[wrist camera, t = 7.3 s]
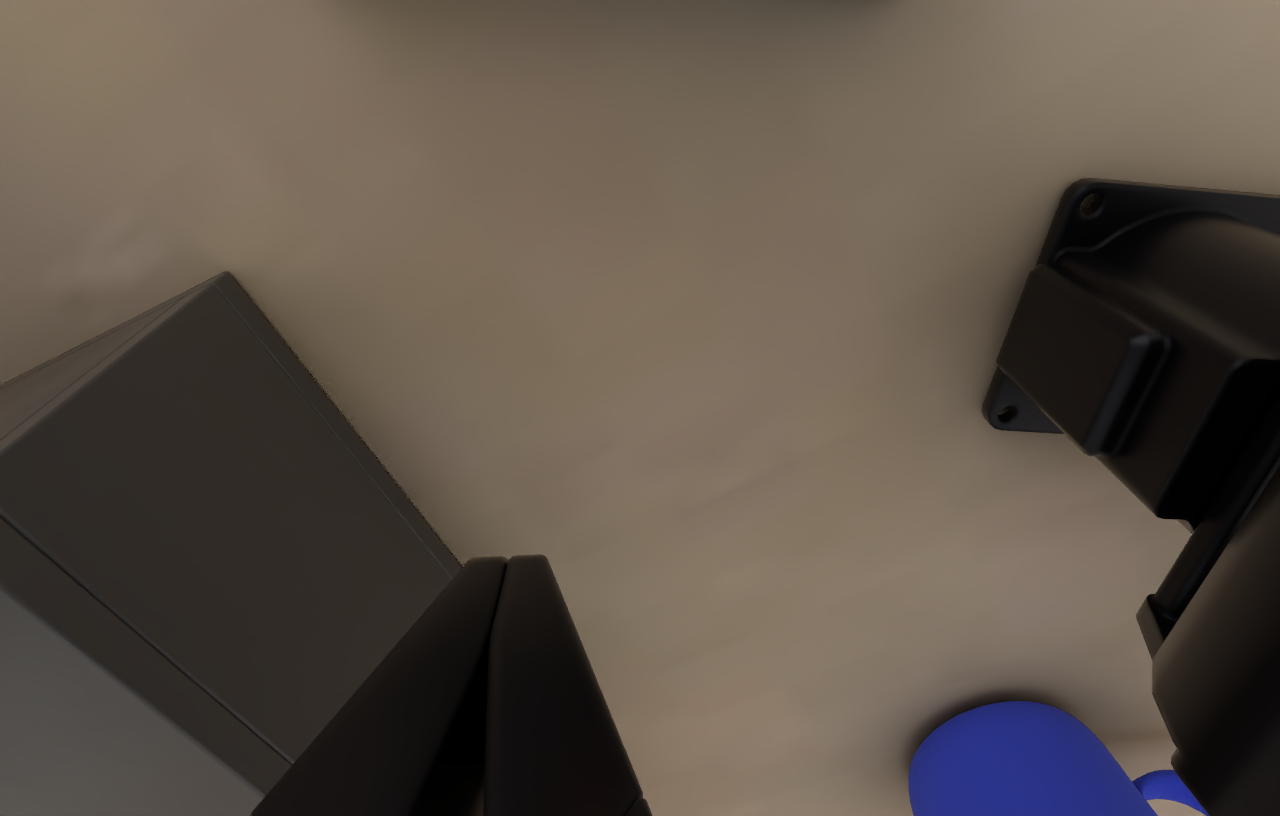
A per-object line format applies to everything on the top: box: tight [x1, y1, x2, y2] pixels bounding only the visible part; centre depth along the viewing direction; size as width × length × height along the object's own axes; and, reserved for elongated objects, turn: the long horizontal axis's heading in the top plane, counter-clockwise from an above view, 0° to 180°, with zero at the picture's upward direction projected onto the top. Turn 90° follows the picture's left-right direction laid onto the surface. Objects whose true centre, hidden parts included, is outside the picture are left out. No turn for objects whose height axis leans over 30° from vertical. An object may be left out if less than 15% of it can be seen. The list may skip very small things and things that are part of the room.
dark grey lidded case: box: [0, 272, 462, 816], centre depth 18 cm, size 15×13×9 cm
